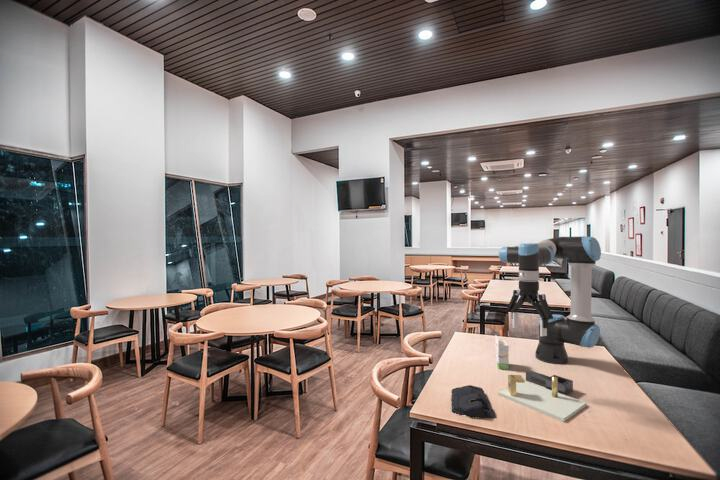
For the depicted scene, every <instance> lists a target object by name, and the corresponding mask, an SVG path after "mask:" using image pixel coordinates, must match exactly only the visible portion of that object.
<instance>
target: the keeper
mask: <svg viewBox="0 0 720 480" xmlns="http://www.w3.org/2000/svg"><path fill="white" fill-rule="evenodd" d="M525 381H526V379H524V377H523V375H521V374H508V375H507V383H508V384H507V386H508V387H507V388H508V392H509V393H510V395H511V396H516V383H518V382H519V383H525Z"/></svg>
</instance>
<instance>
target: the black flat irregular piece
mask: <svg viewBox="0 0 720 480" xmlns="http://www.w3.org/2000/svg"><path fill="white" fill-rule="evenodd" d="M450 397H451V399H450V400H451V402H452V403H451V413H452V412H453V414H455V413H456V414H459V415H458V416H462V415H466V416H465V417H468V416H469V417H468V418H473V417H477V419H489V418H491V417H492V419H493V418H495V417H496V414H495V411H494V409H493V407H492V406H491V404H490V401H489V398H488V397H487V395H486V394H485V391H484V389H483V388H482V387H480V386H476V385H471V384H469V385H463V386H461V387H455V388H452V389H451V396H450ZM478 417H479V418H478ZM486 417H487V418H486Z"/></svg>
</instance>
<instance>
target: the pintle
mask: <svg viewBox="0 0 720 480" xmlns="http://www.w3.org/2000/svg"><path fill="white" fill-rule="evenodd" d="M551 376H552V397H555V398H557V397H558V377H556V376H557V375H556V376H553V375H551Z"/></svg>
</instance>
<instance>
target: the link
mask: <svg viewBox="0 0 720 480" xmlns="http://www.w3.org/2000/svg"><path fill="white" fill-rule="evenodd" d="M552 376H556V377H558V393H560V394H563V395H566V396H569V395H570V394H571V393H573V392H574V380H573V379H572V380H571V379H570V378H565V377H561V376H558V375H555V374H553V375H551V376H548V375H546V374H542V373H540V372H537V371H533V370H530V369H528V370H527V371H525V381H526V382H529V383H532V384H535V385H538V386H541V387H543V388H546V389H549V390H552Z"/></svg>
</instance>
